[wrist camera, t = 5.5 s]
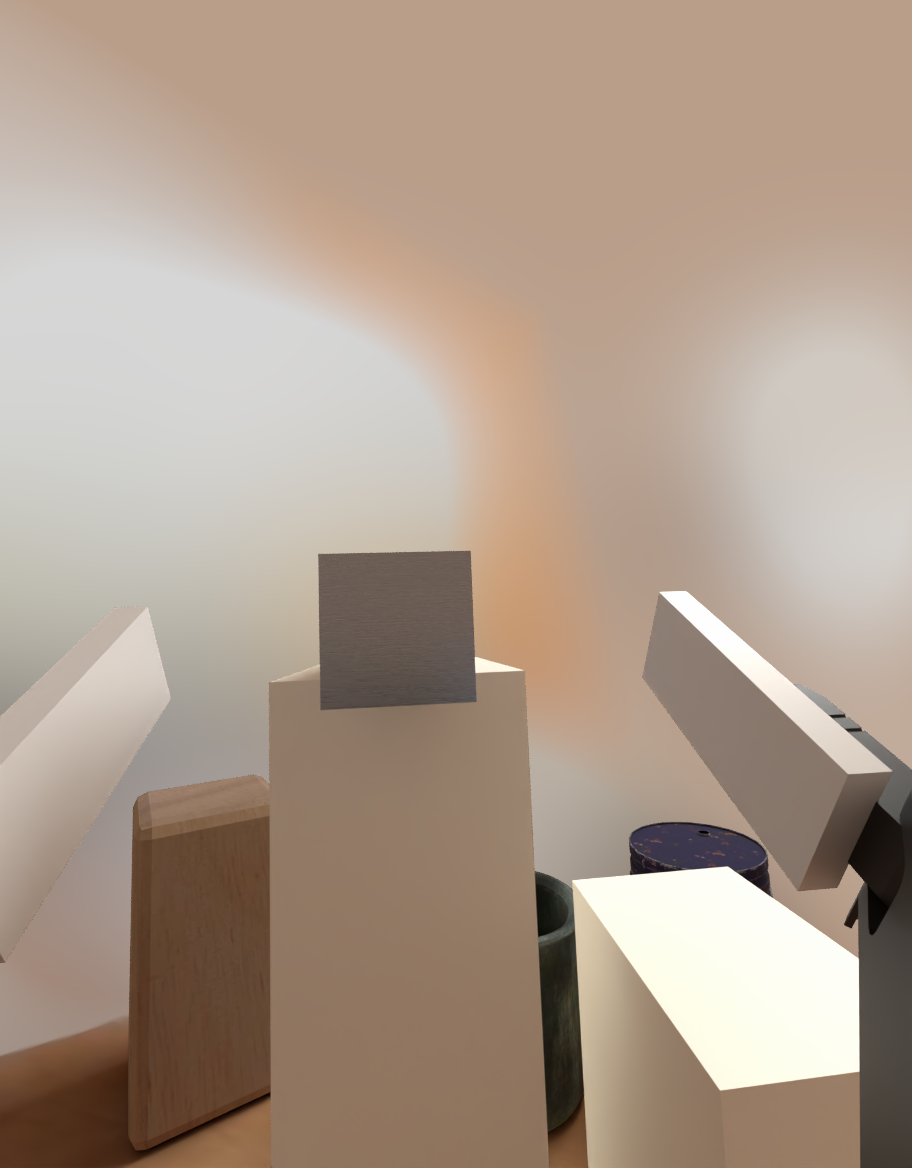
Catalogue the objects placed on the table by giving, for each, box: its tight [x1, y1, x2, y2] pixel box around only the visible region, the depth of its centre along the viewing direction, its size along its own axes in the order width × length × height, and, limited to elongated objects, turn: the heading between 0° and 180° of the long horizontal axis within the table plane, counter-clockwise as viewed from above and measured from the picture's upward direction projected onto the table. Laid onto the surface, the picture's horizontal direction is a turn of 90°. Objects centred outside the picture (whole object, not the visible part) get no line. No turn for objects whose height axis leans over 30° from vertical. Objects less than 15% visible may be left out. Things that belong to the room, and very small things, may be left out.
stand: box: [269, 657, 549, 1168], centre depth 26 cm, size 10×14×30 cm
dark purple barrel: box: [629, 822, 773, 898], centre depth 40 cm, size 10×10×15 cm
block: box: [128, 775, 271, 1151], centre depth 40 cm, size 10×10×20 cm
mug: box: [535, 871, 584, 1132], centre depth 40 cm, size 11×15×12 cm
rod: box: [318, 551, 477, 710], centre depth 23 cm, size 4×22×4 cm, turn 6°
